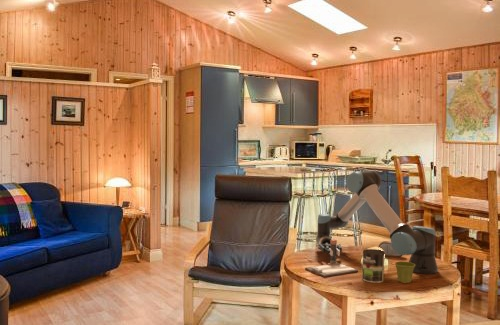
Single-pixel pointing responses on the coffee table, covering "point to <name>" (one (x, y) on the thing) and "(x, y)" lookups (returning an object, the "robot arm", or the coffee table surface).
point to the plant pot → (404, 271)
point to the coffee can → (373, 265)
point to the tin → (388, 249)
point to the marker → (333, 247)
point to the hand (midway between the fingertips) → (335, 253)
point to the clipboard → (331, 270)
